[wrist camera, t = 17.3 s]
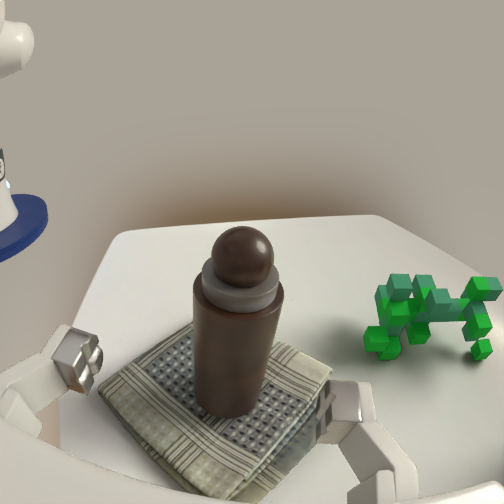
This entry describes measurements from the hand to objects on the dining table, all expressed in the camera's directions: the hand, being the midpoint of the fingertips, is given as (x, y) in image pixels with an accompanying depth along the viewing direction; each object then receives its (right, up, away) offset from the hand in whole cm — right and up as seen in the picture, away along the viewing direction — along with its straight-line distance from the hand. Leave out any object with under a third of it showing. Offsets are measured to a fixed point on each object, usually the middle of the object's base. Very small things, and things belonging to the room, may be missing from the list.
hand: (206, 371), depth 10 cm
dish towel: (-1, -11, +17) cm, 20 cm away
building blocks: (+24, -8, +27) cm, 37 cm away
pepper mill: (-1, -8, +16) cm, 18 cm away
